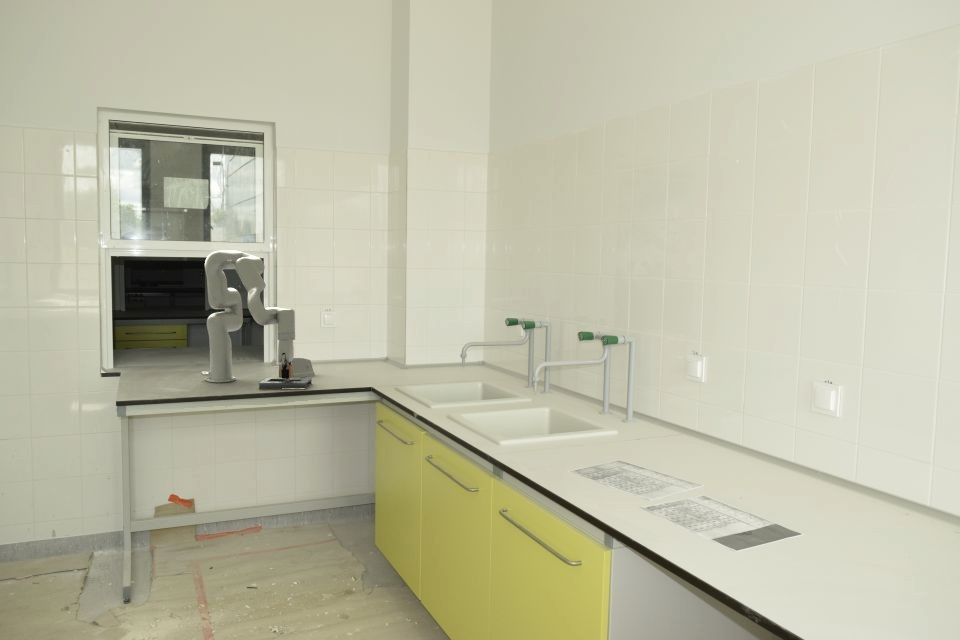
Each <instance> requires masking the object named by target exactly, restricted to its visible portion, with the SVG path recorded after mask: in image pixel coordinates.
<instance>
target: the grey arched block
mask: <svg viewBox="0 0 960 640" xmlns="http://www.w3.org/2000/svg"><path fill="white" fill-rule="evenodd" d="M278 363H279V362H278ZM281 365H282V364H281V362H280V363H279V364H278V378H280V366H281ZM292 365H294V376H293V377H291V378H299V377H300V378H312V377H315V376H316V374H315V371H314V368H313V364H312V362H311V360H310V359H308V358H301V357H294V358H293V360H292Z"/></svg>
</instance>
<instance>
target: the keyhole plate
mask: <svg viewBox="0 0 960 640" xmlns="http://www.w3.org/2000/svg"><path fill="white" fill-rule="evenodd" d="M312 378H313V377H300V378H289V381H285V378H279V377H266V378H264V379H263V380H261V381H259V382H258V387H259V388H258V389H259V390H283V389H282V388H306V389H307V385H306V384H311V385H312V382H313V381H312V380H313V379H312Z"/></svg>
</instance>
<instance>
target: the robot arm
mask: <svg viewBox="0 0 960 640" xmlns="http://www.w3.org/2000/svg"><path fill="white" fill-rule="evenodd" d="M204 262H205V263H204V270H205V275H206V281H207V284H206V285H207V296H208V297H207V298H208V304H209V307H210V308H212V309H214V310H224V311H220V312H219V311H217V312H213V313H211V314H210V315H209V316H208V317H207V319H206V328H207V333H208V339H209V365H210V366H209V371H201V373H200V374H201V376H202V377H207V378H206V381H207V382H208V383H216V384H217V383H228V382H234V381H236V380H237V376H233V353H232V347H233V346H232V339H231V336H230V334H229V332H236V331H239V330H240V329H241V327H242V326H243V321H244V317H243V301H242V295H241V294H240V292H239V291H238V290H237V289H235V288H234V287H228V280H227V276H226V274H225V272H224V270H235V272H236V274H237V275H238V277H239V278H240V281H241V283H242V284H243V287H244V288H245V290H246V292H247V297H246V298H247V299H246V300H247V301H246V303H247V308H248V310H249V313H250V314H251V316H252V318H253V320H254V321H255V322H256V323H257V324H258V325H260V326H269V325H276V327H277V341H278V348H277V349H278V350H277V362H278V363H280V362H281V364H282V365H281V374H282V378H289V369H288V365H292V360H293V358H295V356H294V355H295V354H294V352H295V349H294V348H295V347H294V341H295V340H296V313H295V310H294V309H293V308H289V307H288V308H281V307H278V306H277V307H276V306H274V307H273V306H272V307H265V306H264V304H263V302H262V300H261V292H262V291H263V290H265V288H266V285H267V284H266V283H265V281H264V278H262V274H263V273H264V272H265V269H266V267H265V263H264V261H263V260H262V259H261V258H260V257H259V256H255V255H252V254H250V253H246V252H243V251H240V250H215V251H213V252H211V253H209V254H208V255H207V256H206V259H205V261H204ZM286 365H287V366H286Z"/></svg>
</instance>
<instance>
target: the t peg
mask: <svg viewBox="0 0 960 640" xmlns="http://www.w3.org/2000/svg"><path fill="white" fill-rule="evenodd" d="M286 366H287V365H286ZM288 369H289V378H291V377H293V376H294V365H288ZM280 378H282V374H281V366H280ZM289 378H285V381H289Z"/></svg>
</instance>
